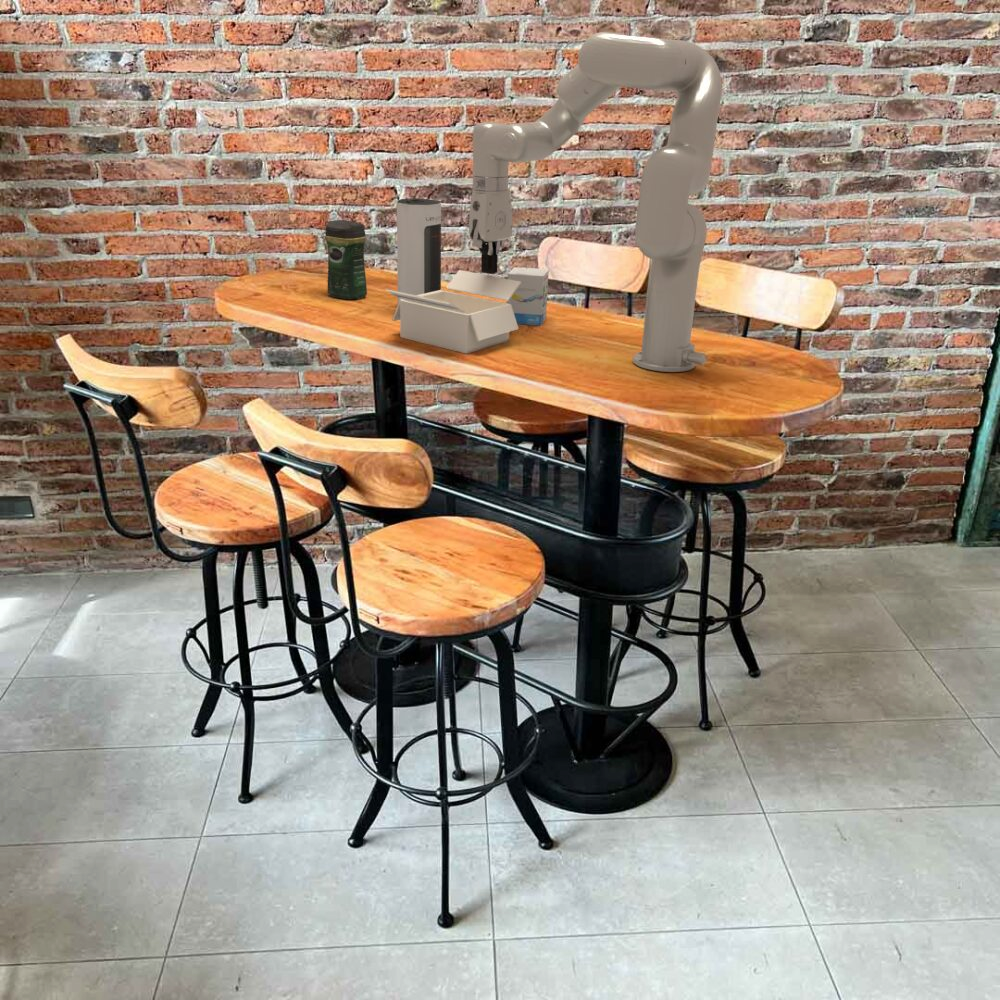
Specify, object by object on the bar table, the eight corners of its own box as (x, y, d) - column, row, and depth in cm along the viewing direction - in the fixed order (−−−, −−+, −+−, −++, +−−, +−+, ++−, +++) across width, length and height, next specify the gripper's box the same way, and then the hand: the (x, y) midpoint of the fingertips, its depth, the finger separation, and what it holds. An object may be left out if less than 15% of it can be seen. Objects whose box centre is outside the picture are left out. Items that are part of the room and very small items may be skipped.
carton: (519, 343, 210) (520, 305, 207) (477, 356, 199) (478, 316, 196) (434, 323, 223) (434, 287, 220) (390, 335, 213) (390, 297, 209)
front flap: (465, 310, 198) (449, 302, 193) (464, 313, 198) (449, 304, 193) (402, 297, 207) (386, 289, 203) (401, 299, 207) (385, 291, 203)
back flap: (508, 301, 209) (521, 283, 211) (507, 299, 208) (520, 281, 210) (447, 288, 218) (459, 271, 220) (446, 287, 218) (459, 269, 220)
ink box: (540, 326, 225) (543, 275, 220) (504, 323, 226) (506, 272, 221) (546, 318, 232) (549, 268, 228) (511, 315, 234) (513, 266, 229)
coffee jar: (372, 296, 246) (371, 221, 239) (351, 301, 240) (349, 224, 233) (343, 291, 251) (341, 216, 244) (322, 295, 245) (319, 219, 238)
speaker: (413, 319, 226) (413, 203, 215) (387, 310, 233) (386, 197, 223) (449, 313, 233) (451, 200, 222) (423, 305, 240) (423, 195, 229)
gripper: (482, 189, 199) (481, 279, 206) (525, 184, 210) (523, 270, 217) (454, 186, 203) (454, 275, 210) (497, 181, 214) (496, 266, 221)
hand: (489, 272), depth 214 cm, fingers closed
